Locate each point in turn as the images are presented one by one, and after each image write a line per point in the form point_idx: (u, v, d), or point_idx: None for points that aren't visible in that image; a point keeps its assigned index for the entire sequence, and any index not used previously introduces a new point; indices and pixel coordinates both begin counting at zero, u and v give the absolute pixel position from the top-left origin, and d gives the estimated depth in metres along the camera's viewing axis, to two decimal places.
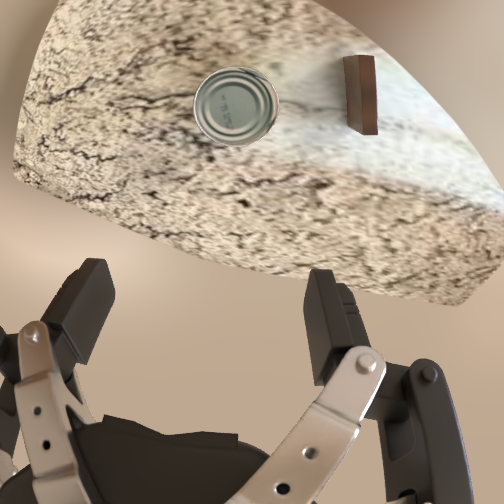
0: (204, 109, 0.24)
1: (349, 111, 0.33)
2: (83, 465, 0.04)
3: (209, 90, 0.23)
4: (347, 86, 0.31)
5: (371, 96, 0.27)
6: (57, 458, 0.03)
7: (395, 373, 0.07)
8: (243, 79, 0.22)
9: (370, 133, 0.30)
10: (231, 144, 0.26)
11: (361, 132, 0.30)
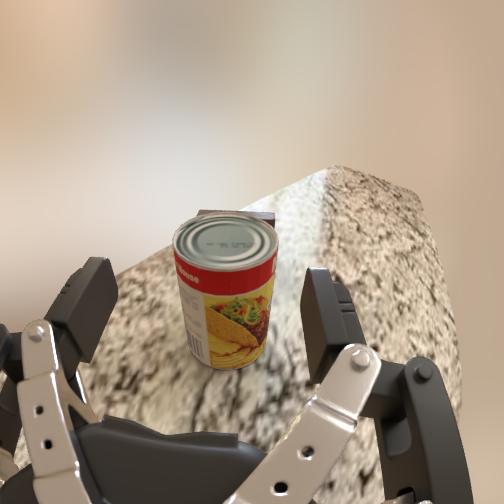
0: (218, 260, 0.19)
1: None
2: (85, 465, 0.04)
3: (194, 254, 0.20)
4: None
5: None
6: (58, 458, 0.03)
7: (391, 371, 0.07)
8: (194, 229, 0.22)
9: (273, 216, 0.37)
10: (274, 246, 0.21)
11: (273, 223, 0.37)
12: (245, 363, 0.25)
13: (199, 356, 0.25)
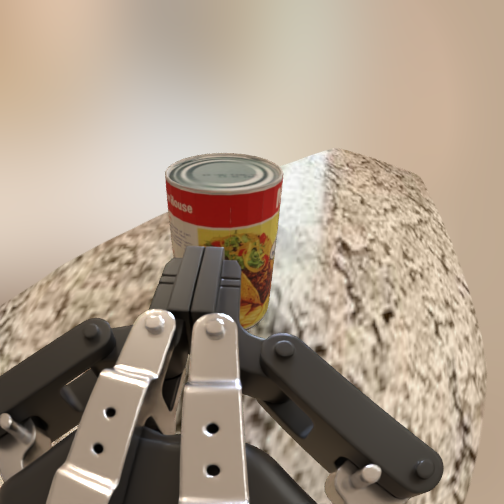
0: (216, 186, 0.16)
1: None
2: (124, 485, 0.04)
3: (189, 182, 0.17)
4: None
5: None
6: (100, 467, 0.04)
7: (256, 345, 0.08)
8: (190, 165, 0.19)
9: None
10: (278, 176, 0.18)
11: None
12: (245, 325, 0.22)
13: None
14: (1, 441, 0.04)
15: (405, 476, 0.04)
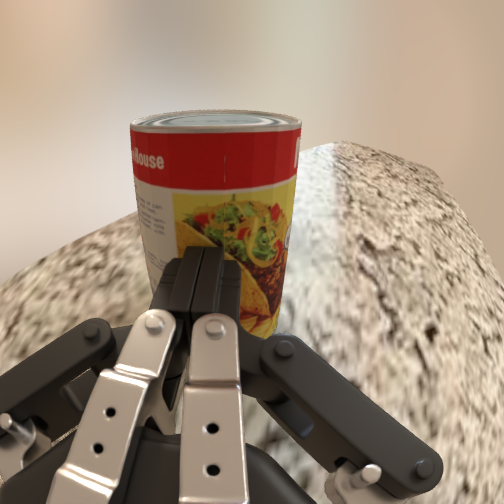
0: None
1: None
2: (124, 485, 0.04)
3: None
4: None
5: None
6: (100, 467, 0.04)
7: (256, 345, 0.08)
8: (169, 118, 0.13)
9: None
10: None
11: None
12: None
13: None
14: (1, 441, 0.04)
15: (405, 476, 0.04)
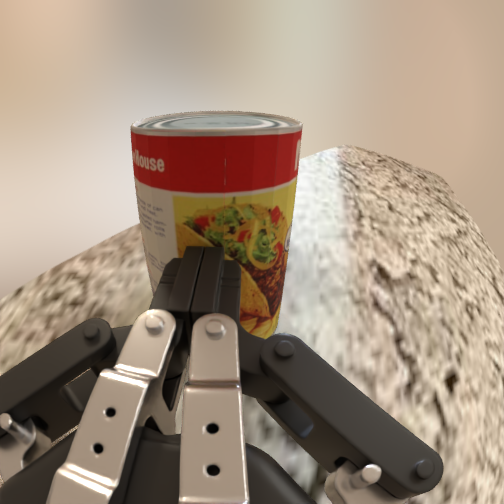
0: (202, 129, 0.10)
1: None
2: (124, 485, 0.04)
3: None
4: None
5: None
6: (100, 467, 0.04)
7: (256, 345, 0.08)
8: (169, 119, 0.13)
9: None
10: None
11: None
12: None
13: None
14: (1, 441, 0.04)
15: (405, 476, 0.04)
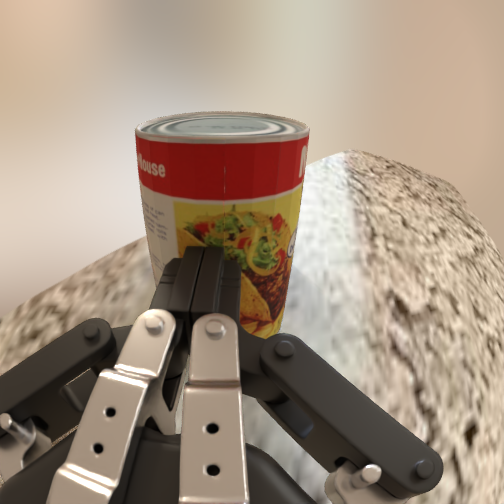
0: (204, 135, 0.10)
1: None
2: (124, 485, 0.04)
3: None
4: None
5: None
6: (100, 467, 0.04)
7: (256, 345, 0.08)
8: (176, 120, 0.13)
9: None
10: None
11: None
12: None
13: None
14: (1, 441, 0.04)
15: (405, 476, 0.04)
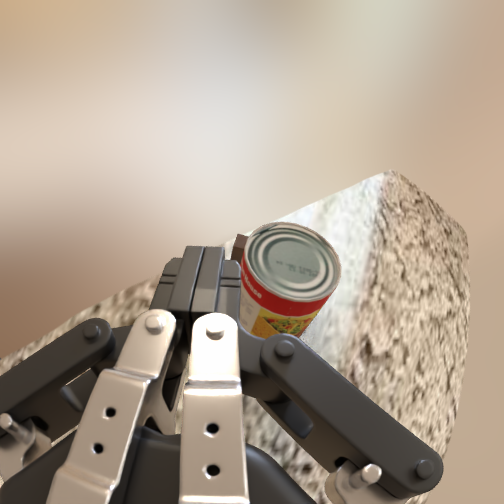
0: (285, 285, 0.20)
1: None
2: (124, 485, 0.04)
3: (263, 271, 0.21)
4: None
5: None
6: (100, 467, 0.04)
7: (256, 346, 0.08)
8: (267, 239, 0.23)
9: None
10: (336, 281, 0.21)
11: None
12: None
13: None
14: (1, 441, 0.04)
15: (405, 476, 0.04)
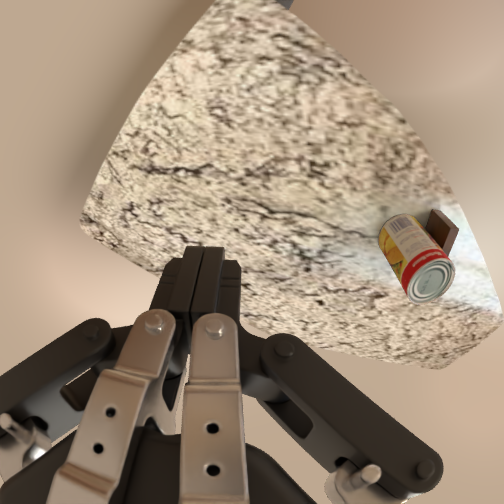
0: (416, 280, 0.32)
1: None
2: (124, 485, 0.04)
3: (426, 269, 0.31)
4: None
5: None
6: (101, 467, 0.04)
7: (256, 345, 0.08)
8: (445, 268, 0.31)
9: None
10: (416, 302, 0.34)
11: None
12: (379, 245, 0.42)
13: (390, 223, 0.40)
14: (1, 441, 0.04)
15: (405, 476, 0.04)
